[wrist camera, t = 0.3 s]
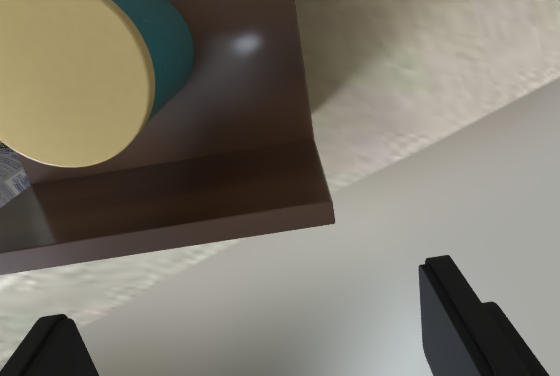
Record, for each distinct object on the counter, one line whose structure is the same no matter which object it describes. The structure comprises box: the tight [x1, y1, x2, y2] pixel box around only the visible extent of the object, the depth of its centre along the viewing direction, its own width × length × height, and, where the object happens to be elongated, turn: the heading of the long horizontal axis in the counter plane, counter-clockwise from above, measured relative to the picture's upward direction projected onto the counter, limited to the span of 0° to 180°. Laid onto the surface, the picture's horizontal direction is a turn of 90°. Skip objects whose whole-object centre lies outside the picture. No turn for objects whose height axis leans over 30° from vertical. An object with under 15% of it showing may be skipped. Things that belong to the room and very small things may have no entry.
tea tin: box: [0, 0, 194, 167], centre depth 18 cm, size 6×6×9 cm
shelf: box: [0, 0, 335, 275], centre depth 22 cm, size 12×16×16 cm
